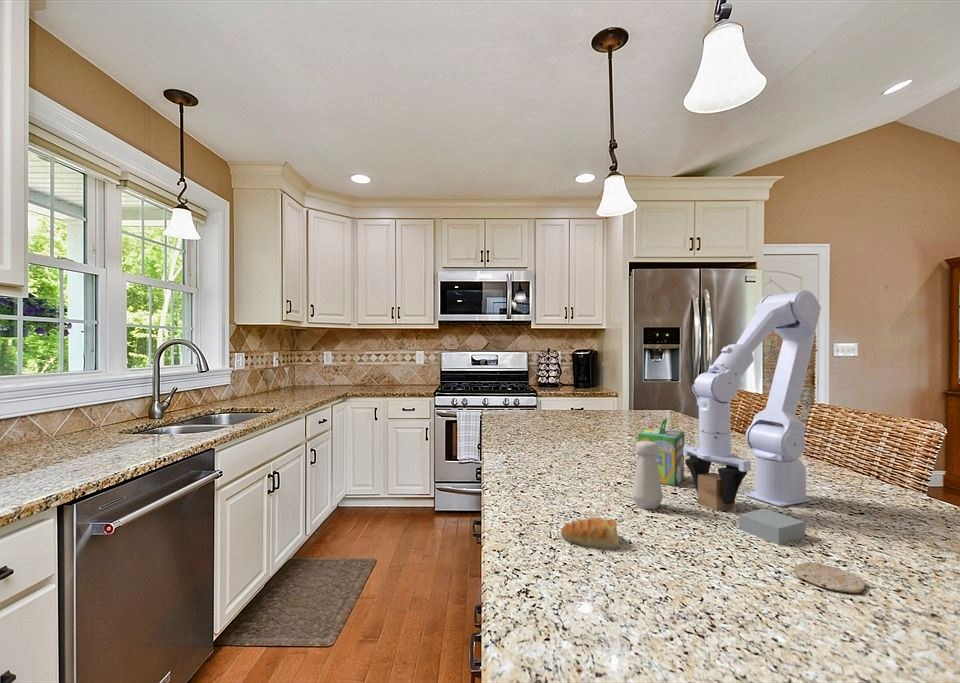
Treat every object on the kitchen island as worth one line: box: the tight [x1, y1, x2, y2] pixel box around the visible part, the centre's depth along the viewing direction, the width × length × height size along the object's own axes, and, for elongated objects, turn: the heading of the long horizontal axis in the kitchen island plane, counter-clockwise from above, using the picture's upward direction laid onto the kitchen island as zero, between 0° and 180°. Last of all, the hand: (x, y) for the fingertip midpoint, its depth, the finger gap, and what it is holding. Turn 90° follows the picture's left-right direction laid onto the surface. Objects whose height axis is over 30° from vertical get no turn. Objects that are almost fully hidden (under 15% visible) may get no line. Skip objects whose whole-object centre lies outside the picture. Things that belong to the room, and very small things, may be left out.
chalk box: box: [637, 417, 686, 487], centre depth 113 cm, size 9×9×15 cm
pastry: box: [560, 517, 620, 550], centre depth 77 cm, size 9×7×4 cm
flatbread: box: [793, 561, 866, 594], centre depth 64 cm, size 8×8×1 cm
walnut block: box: [697, 472, 734, 512], centre depth 94 cm, size 4×4×6 cm
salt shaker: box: [631, 441, 664, 510], centre depth 94 cm, size 6×6×13 cm
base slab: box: [738, 508, 806, 546], centre depth 80 cm, size 7×7×3 cm
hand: (715, 498), depth 94 cm, fingers open, 6 cm apart
